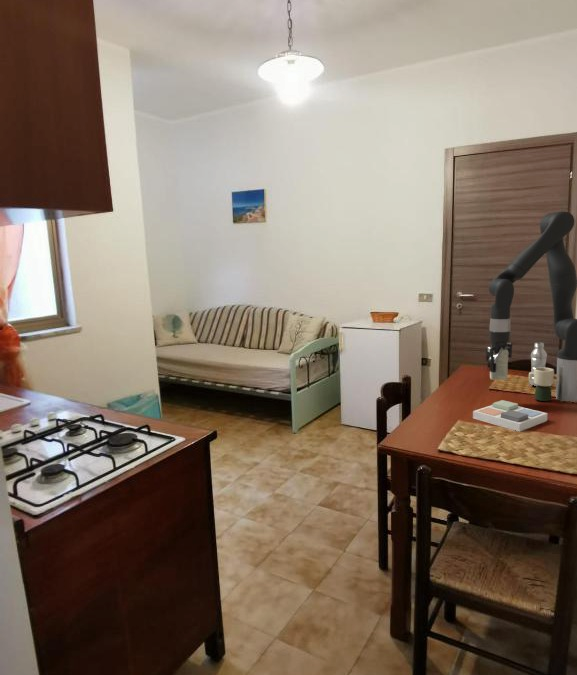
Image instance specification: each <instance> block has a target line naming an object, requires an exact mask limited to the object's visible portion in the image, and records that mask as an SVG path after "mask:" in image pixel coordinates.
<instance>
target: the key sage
mask: <svg viewBox="0 0 577 675" xmlns="http://www.w3.org/2000/svg"><path fill="white" fill-rule="evenodd" d="M492 405H493V407H494V408H497V409H501V410H505V411H510V410H514V409H516V408H518V406H519V403H516V402H512V401H507V400H503V399H501V400H498V401H495V402H493V403H492Z"/></svg>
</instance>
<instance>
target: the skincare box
mask: <svg viewBox="0 0 577 675" xmlns="http://www.w3.org/2000/svg"><path fill="white" fill-rule="evenodd" d="M493 355H497V354H495V352H493ZM508 355H509V352H508V350H507V349H503V350H502V352H501V354H500V356H499V358H498V359H497V361H496V372H490V371H489V378H490V380H493V381H497V380H499V381H500V380H501V381H505V380H506V381H508V372H509V371H508V367H509V365H508V363H509V360H508ZM493 360H494V357H493Z"/></svg>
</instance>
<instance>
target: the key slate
mask: <svg viewBox="0 0 577 675" xmlns="http://www.w3.org/2000/svg"><path fill="white" fill-rule="evenodd" d="M527 409H528V408H527ZM527 409H522V410H520V411H517V412H521V413H525V414H528V416H529V417H534V416H537V415H540V414H542V413H540V412H541V411H540V412H536V411H537V410H536V411H531V410H527Z"/></svg>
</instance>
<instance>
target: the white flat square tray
mask: <svg viewBox="0 0 577 675" xmlns="http://www.w3.org/2000/svg"><path fill="white" fill-rule="evenodd" d="M486 408H491V409H495V410H499V411H503V412H507V411H505V410H501V409H497V408H494V407H493V404H491V405H488V406H485V407H482V408H479V409H475V410H473V411H472V419H474V420H477V421H481V422H484V423H488V424H491V425H495V426H498V427H502V428H505V429H508V430H511V431H515V430H516V431H515V432H518V431H519V432H523V431H526V430H528V429H530V428H532V427H536V426H537V425H540V424H543V423H545V422H547V421H548V412H543V411H540V410H534V409H531V408H526V407H523V406H519V405H518V408H516V409H514V410H513V411H520V410H522V409H527V410H531V411H536V412H540V413H542V414H540V415H537V416H534V417H529V416H528V419H526V420H524V421H521V422H515V421H511V420H508V419H504V418H501V414H499V415H496V416H493V415H489V414H485V413H482V412H479V411H480V410H483V409H486ZM519 432H518V433H519Z"/></svg>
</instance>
